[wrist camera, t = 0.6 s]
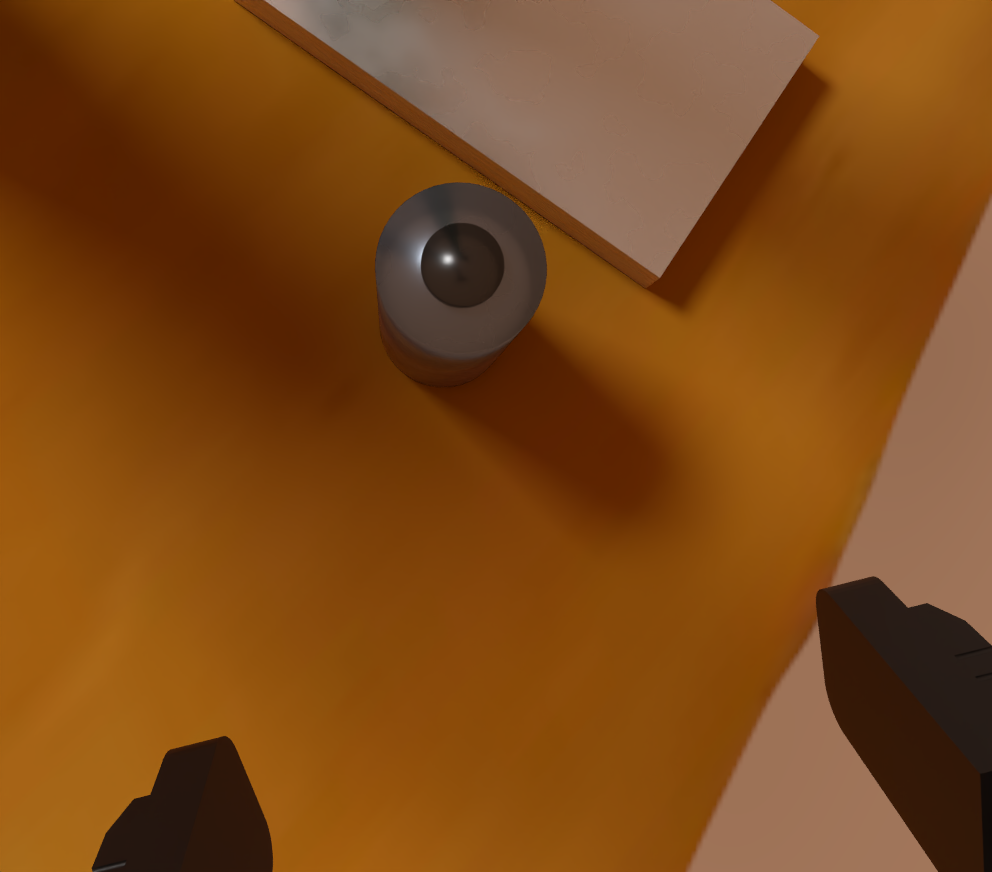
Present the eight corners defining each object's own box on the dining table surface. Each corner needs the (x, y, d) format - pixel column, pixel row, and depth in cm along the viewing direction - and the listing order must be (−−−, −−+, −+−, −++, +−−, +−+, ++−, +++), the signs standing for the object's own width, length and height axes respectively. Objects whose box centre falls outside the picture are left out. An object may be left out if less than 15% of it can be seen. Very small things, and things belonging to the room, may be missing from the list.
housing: (354, 340, 36) (339, 285, 26) (425, 238, 37) (438, 144, 26) (459, 411, 36) (486, 385, 26) (528, 309, 37) (581, 243, 27)
